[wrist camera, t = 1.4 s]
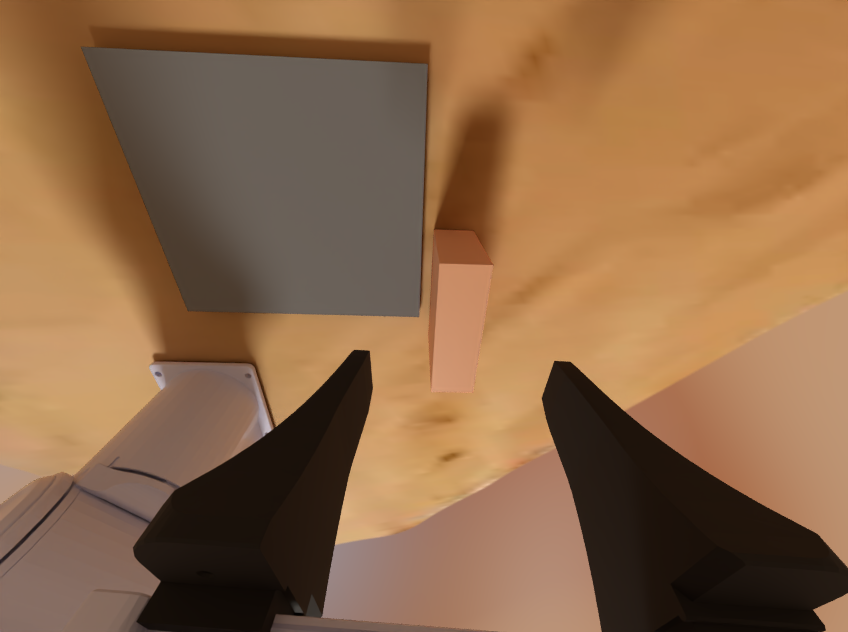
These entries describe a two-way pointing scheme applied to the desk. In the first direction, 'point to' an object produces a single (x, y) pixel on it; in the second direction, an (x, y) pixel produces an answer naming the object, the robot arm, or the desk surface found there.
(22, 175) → the desk surface
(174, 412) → the robot arm
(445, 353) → the slab
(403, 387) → the desk surface
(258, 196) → the mat
